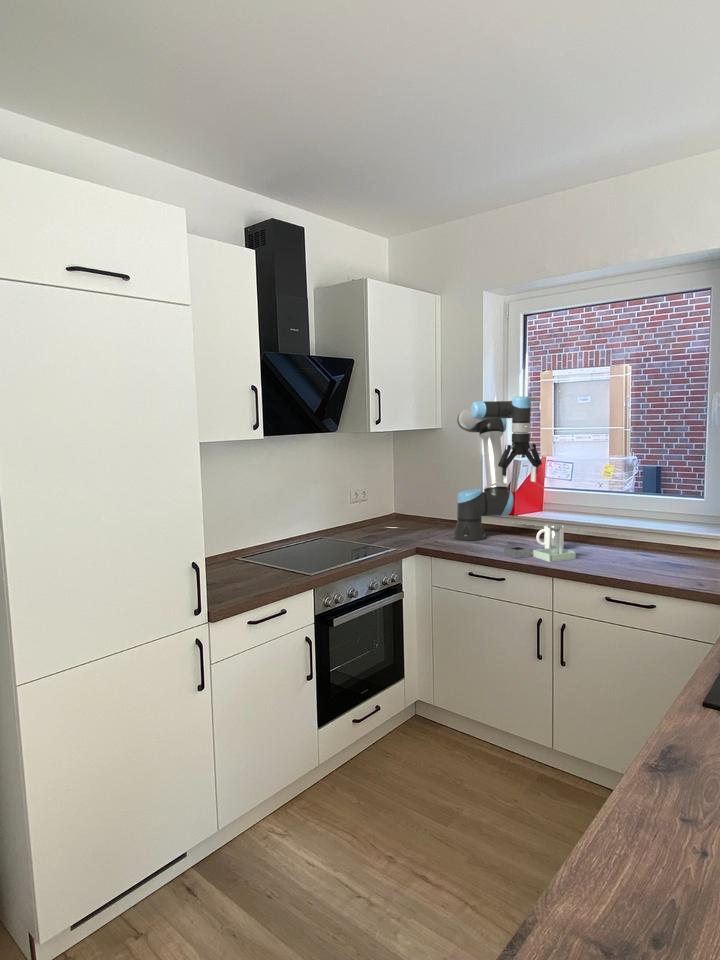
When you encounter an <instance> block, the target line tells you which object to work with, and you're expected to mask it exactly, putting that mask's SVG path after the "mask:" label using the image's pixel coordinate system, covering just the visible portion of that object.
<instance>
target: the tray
mask: <svg viewBox="0 0 720 960" xmlns="http://www.w3.org/2000/svg"><path fill="white" fill-rule="evenodd" d="M532 557H533V558H536V559H540V560H542V561H546V562H548V563H555V562H561V561H570V560H576V559H577V552H576V551H573V550H571V549H570V550H569V549H565V548H564V547H563V548H559V554H554V555H549V548H546V549H545V548H539V549H533V550H532Z"/></svg>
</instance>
